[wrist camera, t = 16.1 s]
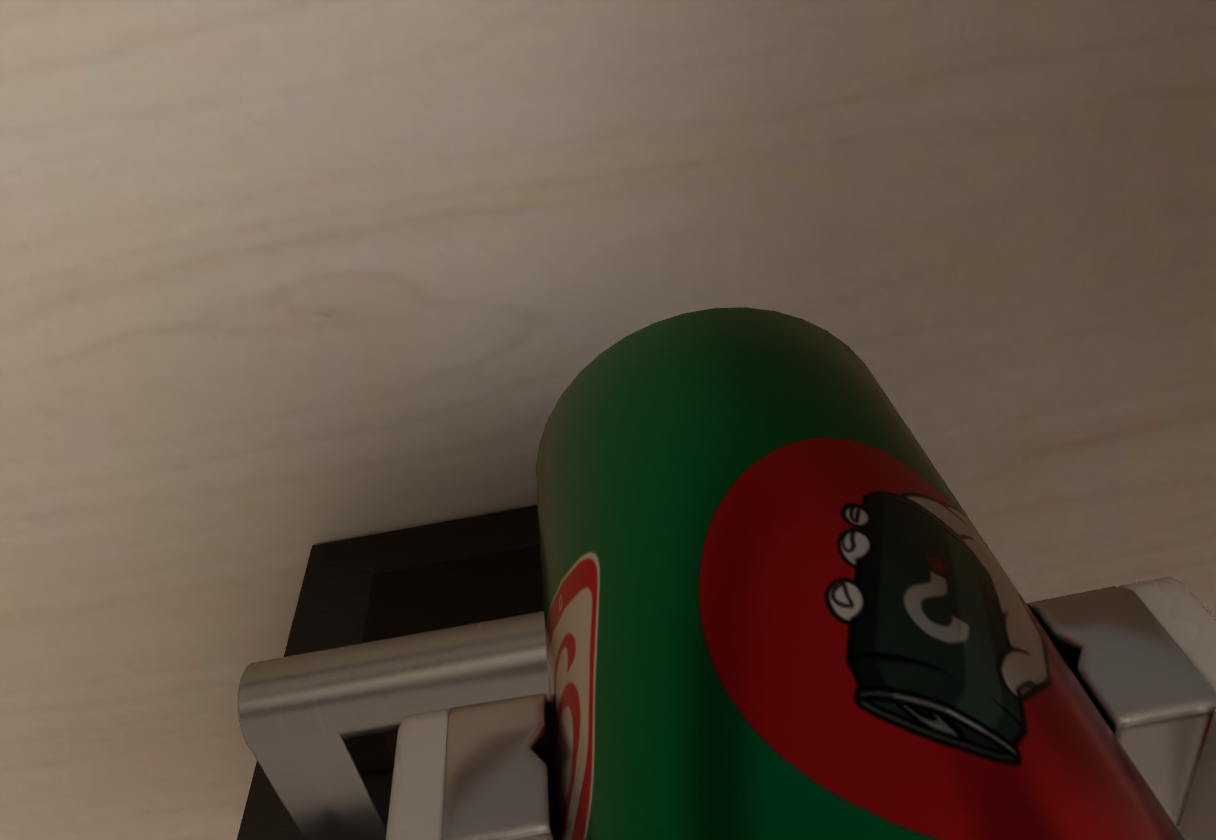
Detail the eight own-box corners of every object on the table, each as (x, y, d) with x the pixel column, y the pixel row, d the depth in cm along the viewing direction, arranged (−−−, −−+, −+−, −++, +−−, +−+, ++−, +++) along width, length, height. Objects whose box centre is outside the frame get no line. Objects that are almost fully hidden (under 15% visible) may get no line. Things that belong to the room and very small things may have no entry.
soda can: (474, 370, 13) (395, 2366, 3) (829, 229, 12) (2350, 2119, 2) (609, 614, 16) (814, 2075, 6) (905, 508, 15) (1745, 1934, 5)
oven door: (255, 416, 30) (103, 795, 19) (813, 316, 30) (1003, 637, 18) (326, 577, 34) (236, 972, 23) (819, 490, 34) (979, 842, 22)
